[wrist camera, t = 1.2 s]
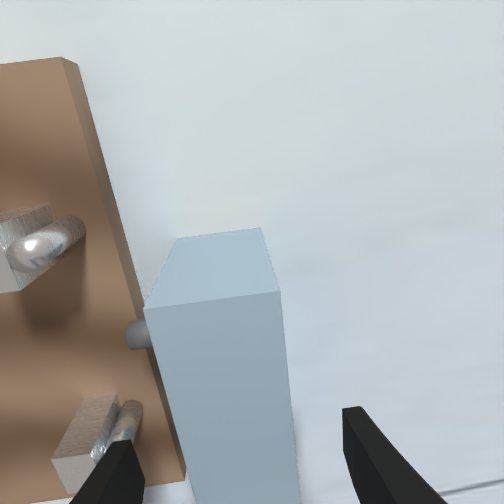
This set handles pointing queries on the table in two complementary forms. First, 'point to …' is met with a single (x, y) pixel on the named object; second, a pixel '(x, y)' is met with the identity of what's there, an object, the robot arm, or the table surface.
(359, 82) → the table surface
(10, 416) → the cabinet panel
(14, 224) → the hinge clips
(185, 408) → the pale blue square pillar
